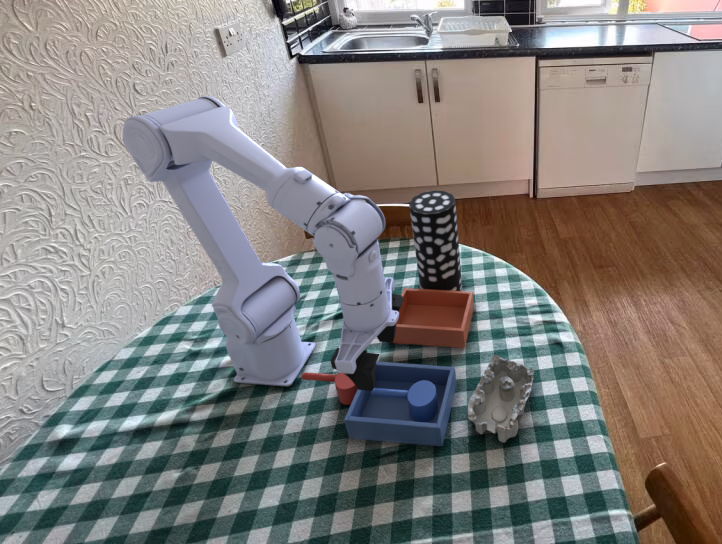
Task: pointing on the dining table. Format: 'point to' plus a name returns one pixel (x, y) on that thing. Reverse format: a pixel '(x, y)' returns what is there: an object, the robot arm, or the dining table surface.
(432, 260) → the black white spotted cylinder
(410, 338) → the red bin
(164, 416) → the dining table surface
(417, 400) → the blue cylinder with handle
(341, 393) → the red ladle-shaped piece
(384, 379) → the blue bin
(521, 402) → the egg carton
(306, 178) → the robot arm
